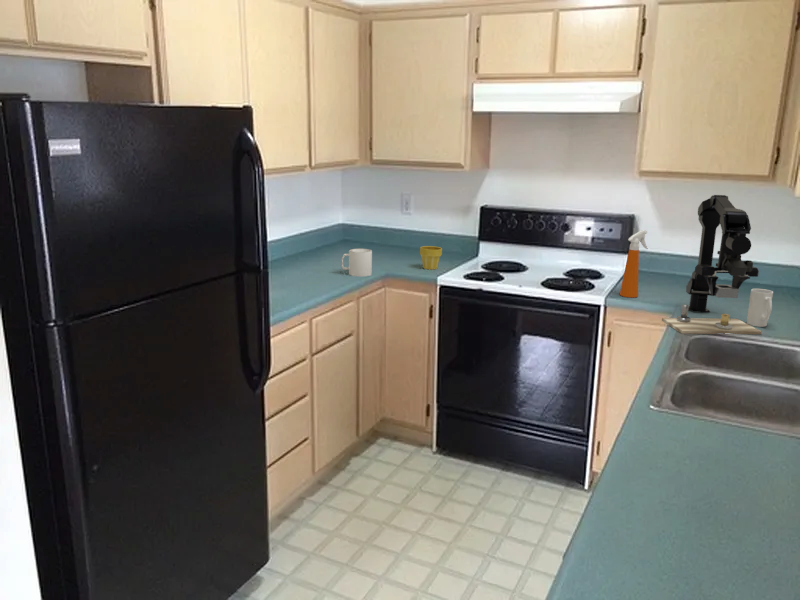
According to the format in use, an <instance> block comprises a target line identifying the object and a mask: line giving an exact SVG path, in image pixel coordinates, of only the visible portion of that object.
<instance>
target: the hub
mask: <svg viewBox="0 0 800 600" xmlns="http://www.w3.org/2000/svg"><path fill="white" fill-rule="evenodd" d="M730 316H731V315H730V314H728V313H722V314H721V315H720V319H721V322H719V323H716V324H715V327H716V328H719V329H724V330H731V329H732V328H733V325H731V324H728V323H729V319H730Z"/></svg>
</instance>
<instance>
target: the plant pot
mask: <svg viewBox="0 0 800 600" xmlns="http://www.w3.org/2000/svg"><path fill="white" fill-rule="evenodd" d="M419 248H420V249H419V254H420V256H421V262H422V268H423V269H425V270H437V269H438V268H439V267H438V266H439V262H440V259H441V256H442V255H443V248H442V247H440V246H435V245H434V246H433V245H423V246H420V247H419Z"/></svg>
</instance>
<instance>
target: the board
mask: <svg viewBox="0 0 800 600" xmlns="http://www.w3.org/2000/svg"><path fill="white" fill-rule="evenodd" d="M690 318H691V320H690V322H680V321H677V317H661V322H663V323H664V324H666V325H668V326H669V327H671V328H672V329H673V330H675V331H677V332H678V333H680V334H683V335H685V334H688V335H690V334H691V335H696V334H697V335H698V334H699V335H717V334H716V333H723V334H722V335H726V334H725V333H733V334H732V335H762V330H760V329H758V328H757V327H755V326H752V325H749V324H747V322H744V321H742V320H740V319H738V318H729V323H728V324H731V325H733V328H732V329H731V330H724V329H719V328H716V327H715V324H716V323H719V322H721V318H711V317H710V318H705V317H704V318H703V317H702V318H697V317H696V318H692V317H690Z"/></svg>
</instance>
